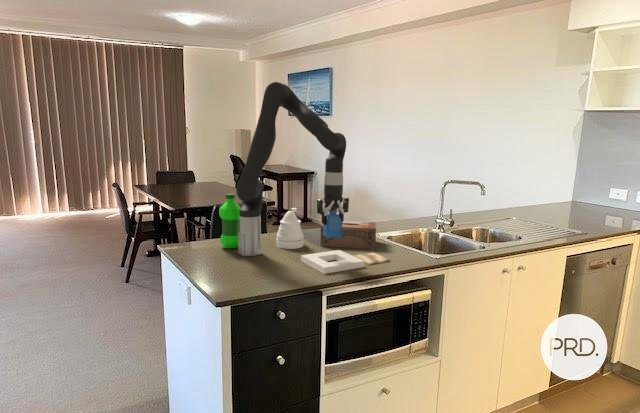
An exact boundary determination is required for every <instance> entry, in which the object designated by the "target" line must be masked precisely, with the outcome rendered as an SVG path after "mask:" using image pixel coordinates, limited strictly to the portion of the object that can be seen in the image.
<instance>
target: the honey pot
mask: <svg viewBox="0 0 640 413" xmlns="http://www.w3.org/2000/svg"><path fill="white" fill-rule="evenodd" d="M297 211H298V208H297V207H291V210H289V211H287V212H286V213H285V214H284V216H283V217H282V219H281V220H279V223H280V225H279V227H278V230H277V233H276V247H277V248H279V249H283V250H284V249H285V250H295V249H300V248H302V247H304V233H303V230H302V226H301V223H302V220H300V219H299V218H298V217H297V215H296V214H295V213H296V212H297Z"/></svg>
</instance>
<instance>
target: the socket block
mask: <svg viewBox="0 0 640 413" xmlns="http://www.w3.org/2000/svg"><path fill="white" fill-rule="evenodd" d="M300 262H301V263H304V264H305V265H307V266H309V267H310V268H312V269H315V271H318V272H320V273H321V274H324V275H325V274H333V273H337V272H344V271H348V270H354V269H359V268H365V264H364V261H363V260H361V259H359V258H356V257H354V255H352V254H350V253H348V252H345V251H343V250H340V249H336V250H329V251H322V252H315V253H310V254H309V253H308V254H302V255H300Z"/></svg>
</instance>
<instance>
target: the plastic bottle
mask: <svg viewBox="0 0 640 413" xmlns="http://www.w3.org/2000/svg"><path fill="white" fill-rule="evenodd" d="M225 199H226V201H225V203H223V204H222V205H221V206H219V210H218V212H219V213H218V214H219V217H220V219H221V223H222V224H221V225H222V226H221V228H222V229H221V230H222V234H221V236H220V243H221V245H222V246H223V247H224V248H226V249H227V248H234V249H237V248H238V232H240V226H239V210H240V208H241V206H240V205H239V204H238V203H236V202H235V199H236V194H235V193H225ZM236 247H237V248H236Z"/></svg>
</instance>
